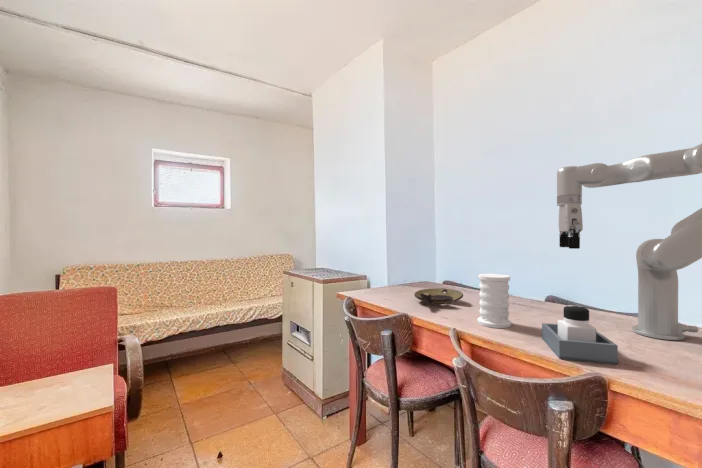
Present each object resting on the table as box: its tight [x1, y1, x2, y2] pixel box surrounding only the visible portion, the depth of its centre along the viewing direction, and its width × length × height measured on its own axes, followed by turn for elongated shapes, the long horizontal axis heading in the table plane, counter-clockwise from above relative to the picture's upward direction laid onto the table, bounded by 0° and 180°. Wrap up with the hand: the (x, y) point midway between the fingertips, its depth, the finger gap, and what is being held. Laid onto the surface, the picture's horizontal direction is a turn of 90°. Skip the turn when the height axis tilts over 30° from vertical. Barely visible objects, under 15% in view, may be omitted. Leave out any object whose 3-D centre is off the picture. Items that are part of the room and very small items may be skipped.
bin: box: [541, 322, 619, 366], centre depth 91 cm, size 13×17×5 cm
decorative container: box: [476, 273, 512, 329], centre depth 118 cm, size 12×12×18 cm
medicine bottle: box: [557, 305, 597, 342], centre depth 91 cm, size 7×7×12 cm
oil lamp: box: [413, 287, 464, 306], centre depth 152 cm, size 22×30×8 cm
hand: (569, 247), depth 116 cm, fingers open, 9 cm apart
